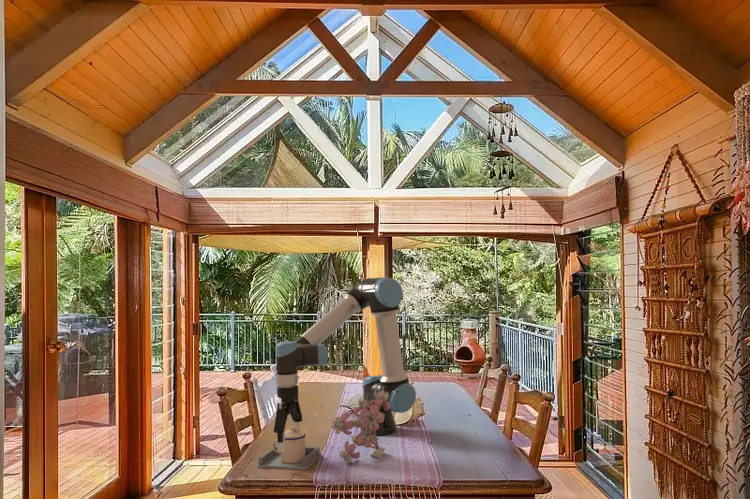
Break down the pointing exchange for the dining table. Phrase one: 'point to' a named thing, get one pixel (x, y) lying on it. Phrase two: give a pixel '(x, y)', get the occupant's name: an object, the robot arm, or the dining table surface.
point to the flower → (363, 426)
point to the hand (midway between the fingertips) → (289, 445)
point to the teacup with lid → (293, 446)
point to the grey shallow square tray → (274, 461)
